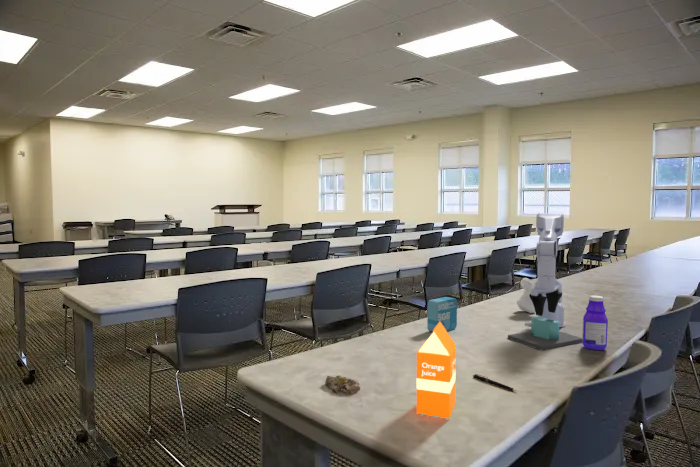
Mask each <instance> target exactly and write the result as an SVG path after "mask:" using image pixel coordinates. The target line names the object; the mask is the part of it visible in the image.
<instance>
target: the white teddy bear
mask: <svg viewBox="0 0 700 467" xmlns="http://www.w3.org/2000/svg"><path fill="white" fill-rule="evenodd" d="M536 281H537V278H532V279H530V278H527V277H523V278H522V279H521V280H520V286H521V288H522V289H524V291H523V293H522V295H521V296H520V297H519V298H518V299H517V300H516V305H517V307H518V308H519V309H520V310H521V311H524V312H526V313H529V314H534V313H535V309H534V305H533V303H532V300H531V299H530V297H529V294H531V290H532V289H534V288H535V283H536Z"/></svg>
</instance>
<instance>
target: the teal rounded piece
mask: <svg viewBox="0 0 700 467" xmlns="http://www.w3.org/2000/svg"><path fill="white" fill-rule="evenodd" d="M530 319H531V320H530V321H531V322H530V321H529V322H528V321H527V322H524V326H525V327H528V328H530V331H531V335H533V336H537V337H541V338H545V339H549V340H559V331H560V327H559V321H555V320H551V319H546V318H542V317H538V316H532V317H531V318H530Z"/></svg>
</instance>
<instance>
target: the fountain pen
mask: <svg viewBox="0 0 700 467" xmlns="http://www.w3.org/2000/svg"><path fill="white" fill-rule="evenodd" d="M472 377H473V378H474V379H475V380H477V381H481V382H483V383H486V384H488V385H491V386H495V387H498V388H500V389H504V390H506V391H511V392H520V391H518V390H516V389H514V388H513V387H511V386H510V385H509V386H508V385H506V384H503V383H500V382H497V381H495V380H492V379H490V378H488V376H485V375H480V374H477V373H475V374H473V375H472Z"/></svg>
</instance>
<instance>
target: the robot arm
mask: <svg viewBox="0 0 700 467" xmlns="http://www.w3.org/2000/svg"><path fill="white" fill-rule="evenodd" d="M535 218H536V219H535V222H536V223H535V224H536V225H535V226H536V227H535V228H536V232H537V235H538V236H539V239H538V241H537V243H536V249H535V250H536V251H535V252H536V262H537V281H536V283H535V288H534V289H532V290H531V294H529V297H530V299H531V300H532V303H533V305H534V309H535V312H534V313H535V315H536V316H537V317H542V318H546V319H551V320H555V321H559V328H563V327H564V328H565V327H566V324H564V322H565V320H564V319H565V309H564V306H563V305H562V304H561V303H562V302H563V284H562V282H561V281H560V280H558V279H557V278H556V264H557V263H556V260H557V259H556V258H557V256H558V241H557V240H558V237H561V236H563V233H564V226H565V225H564V224H565V215H564V213H563V212H560V213H543V212H542V213H540V212H538V213H536V217H535Z"/></svg>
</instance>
